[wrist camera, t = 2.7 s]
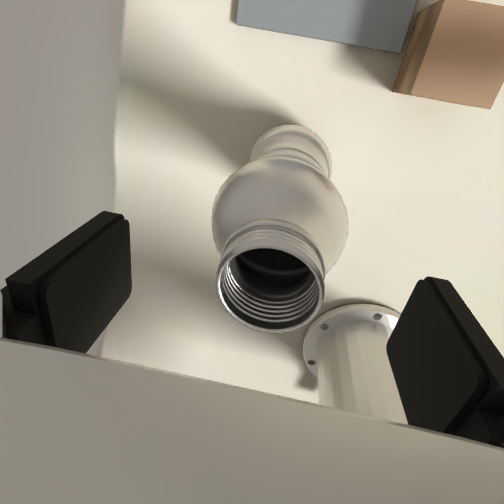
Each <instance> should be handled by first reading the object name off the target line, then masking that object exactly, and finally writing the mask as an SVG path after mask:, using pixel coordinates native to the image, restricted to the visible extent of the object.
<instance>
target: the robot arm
mask: <svg viewBox="0 0 504 504" xmlns="http://www.w3.org/2000/svg"><path fill="white" fill-rule="evenodd" d="M5 280H6V283H7V286H5V287H4V288H3V289H1V290H0V504H504V358H503V356H502V355H501V353H500V352H499V351H498V349H497V348H496V346H495V345H494V344H493V342H492V341H491V339H490V338H489V336H488V335H487V334H486V332H485V331H484V329H483V328H482V327H481V325H480V324H479V322H478V321H477V319H476V318H475V317H474V315H473V314H472V312H471V311H470V310H469V308H468V307H467V305H466V304H465V303H464V301H463V300H462V298H461V297H460V295H459V294H458V293H457V291H456V290H455V288H454V287H453V286H452V284H451V283H450V282H449V281H448V280H444V279H439V278H434V277H429V276H428V277H426V278H425V279H424V280H419V281H418V282H417V284H416V286H415V288H414V290H413V292H412V294H411V296H410V298H409V300H408V302H407V304H406V306H405V308H404V310H403V312H402V314H399V313H398V312H396V311H393V310H391V309H389V308H386V307H382V306H378V305H372V304H351V305H346V306H341V307H338V308H335V309H333V310H330V311H328V312H326V313H325V314H323V315H321V316H320V317H319V318H318V319H316V320H315V321H314V322H313V323H312V325H311V326H310V327H309V328H308V330H307V332H306V334H305V337H304V342H303V356H304V361H305V363H306V365H307V367H308V369H309V370H310V372H311V373H312V374H313V375H314V376H315V377H316V378H317V379H318V390H319V404H315V403H310V402H306V401H301V400H297V399H292V398H288V397H283V396H279V395H274V394H270V393H265V392H261V391H256V390H252V389H247V388H243V387H238V386H234V385H229V384H225V383H220V382H215V381H211V380H206V379H202V378H197V377H193V376H188V375H183V374H179V373H174V372H169V371H165V370H160V369H156V368H151V367H146V366H142V365H137V364H132V363H128V362H123V361H118V360H114V359H109V358H104V357H100V356H95V355H90V354H86V352H87V351H88V350H89V348H90V347H91V346H92V345H93V343H94V342H95V341H96V339H97V338H98V337H99V335H100V334H101V333H102V332H103V330H104V329H105V328H106V326H107V325H108V324H109V322H110V321H111V320H112V319H113V317H114V316H115V315H116V313H117V312H118V311H119V309H120V308H121V307H122V306H123V304H124V303H125V302H126V300H127V299H128V298H129V296H130V294H131V290H132V280H131V255H130V230H129V222H128V220H125V219H124V216H123V215H122V214H117V213H112V212H107V211H103V212H101V213H99V214H98V215H97V216H95V217H94V218H92V219H91V220H89V221H88V222H87V223H85V224H84V225H82V226H81V227H79V228H78V229H77V230H75V231H74V232H72V233H71V234H70V235H68V236H66V237H65V238H64V239H62V240H61V241H59V242H58V243H57V244H55V245H54V246H52V247H51V248H49V249H48V250H46V251H45V252H44V253H42V254H41V255H39V256H38V257H36V258H35V259H34V260H32V261H31V262H29V263H28V264H26V265H25V266H23V267H22V268H21V269H19V270H18V271H16V272H15V273H14V274H12V275H11V276H9V277H8V278H6V279H5Z"/></svg>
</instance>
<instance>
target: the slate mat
mask: <svg viewBox="0 0 504 504" xmlns="http://www.w3.org/2000/svg"><path fill="white" fill-rule="evenodd" d="M416 3H417V0H239V2H238V11H237V20H236V24H237V25H239V26H245V27H251V28H257V29H262V30H268V31H274V32H280V33H285V34H291V35H297V36H303V37H308V38H314V39H320V40H326V41H331V42H337V43H343V44H349V45H354V46H360V47H366V48H372V49H378V50H383V51H389V52H395V53H400V52H401V49H402V46H403V43H404V40H405V36H406V33H407V30H408V27H409V24H410V21H411V18H412V15H413V12H414V9H415V6H416Z"/></svg>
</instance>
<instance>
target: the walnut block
mask: <svg viewBox="0 0 504 504" xmlns="http://www.w3.org/2000/svg"><path fill="white" fill-rule="evenodd" d="M503 82H504V6H499V5H493V4H487V3H481V2H475V1H469V0H439V1H438V2H436V3H434V4H432V5H431V6H429V7H427V8H426V9H424V10H422V11H420V12H419V13H418V16H417V19H416V22H415V25H414V28H413V31H412V34H411V37H410V40H409V43H408V46H407V49H406V52H405V55H404V58H403V61H402V64H401V67H400V70H399V73H398V76H397V79H396V82H395V85H394V88H393V91H392V92H395V93H401V94H406V95H412V96H417V97H423V98H428V99H434V100H439V101H445V102H450V103H456V104H461V105H468V106H474V107H480V108H486V109H491V107H492V105H493V103H494V101H495V99H496V97H497V94H498V92H499V90H500V88H501V86H502V84H503Z"/></svg>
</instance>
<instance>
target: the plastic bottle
mask: <svg viewBox="0 0 504 504" xmlns="http://www.w3.org/2000/svg"><path fill="white" fill-rule="evenodd" d="M331 173H332V160H331V155H330V152H329V150H328V147H327V146H326V144H325V143H324V141H323V140H322V139H321V138H320V137H319V136H318V135H317V134H316V133H314V132H313V131H311V130H310V129H308V128H305V127H303V126H299V125H281V126H277V127H274V128H272V129H270V130H268V131H267V132H266V133H264V134H263V135H262V136H261V137H260V138H259V139H258V140H257V142H256V143H255V145H254V147H253V149H252V152H251V155H250V160H249V163H247V164H245V165H244V166H242V167H241V168H240V169H238V170H237V171H236V172H234V173H233V174H232V175H230V176H229V178H228V179H227V180H226V181H225V182H224V183H223V185H222V186H221V188H220V189H219V191H218V193H217V195H216V197H215V201H214V204H213V208H212V232H213V238H214V242H215V244H216V247H217V250H218V252H219V253H220V255H221V263H220V265H219V268H218V271H217V278H216V289H217V294H218V297H219V300H220V302H221V304H222V305H223V307H224V308H225V310H226V311H227V312H228V313H229V314H230V315H231V316H232V317H233V318H234V319H235V320H237V321H238V322H239V323H241V324H243V325H245V326H247V327H249V328H251V329H254V330H257V331H261V332H266V333H286V332H290V331H294V330H297V329H299V328H301V327H304V326H305V325H307V324H308V323H309V322H311V321H312V320H313V319H314V318H315V316H316V315H317V314H318V312H319V310H320V309H321V306H322V303H323V299H324V278H325V275H326V274H327V273H328V272H329V271H330V270H331V269H332V267H333V266H334V265H335V264H336V262H337V260H338V258H339V257H340V255H341V253H342V251H343V249H344V246H345V243H346V239H347V236H348V223H349V222H348V216H347V210H346V207H345V205H344V202H343V200H342V197H341V195H340V194H339V192H338V190H337V189H336V187H335V186H334V184H333V183H332V181H331V180H330V177H331Z"/></svg>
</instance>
